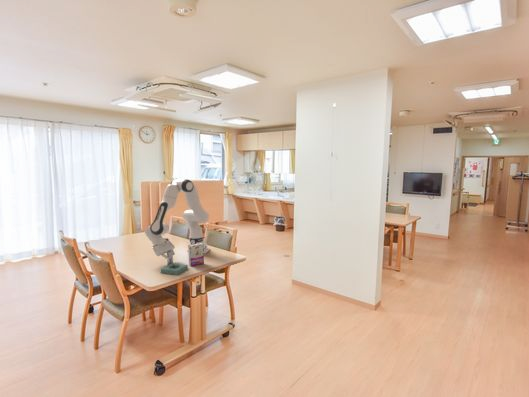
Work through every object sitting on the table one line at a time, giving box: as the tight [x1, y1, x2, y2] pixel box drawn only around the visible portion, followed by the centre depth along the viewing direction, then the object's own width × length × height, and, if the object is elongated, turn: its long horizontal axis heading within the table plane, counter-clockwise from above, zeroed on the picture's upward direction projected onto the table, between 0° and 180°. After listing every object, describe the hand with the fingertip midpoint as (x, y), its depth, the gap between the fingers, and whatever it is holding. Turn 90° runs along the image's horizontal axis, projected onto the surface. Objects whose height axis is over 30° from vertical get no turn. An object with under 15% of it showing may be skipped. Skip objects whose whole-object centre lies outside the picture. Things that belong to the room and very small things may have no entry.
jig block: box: [160, 262, 189, 276], centre depth 223 cm, size 14×14×3 cm
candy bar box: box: [187, 243, 205, 267], centre depth 237 cm, size 11×5×16 cm, turn 126°
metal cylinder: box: [166, 250, 174, 266], centre depth 237 cm, size 4×4×10 cm
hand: (170, 256), depth 237 cm, fingers open, 8 cm apart
